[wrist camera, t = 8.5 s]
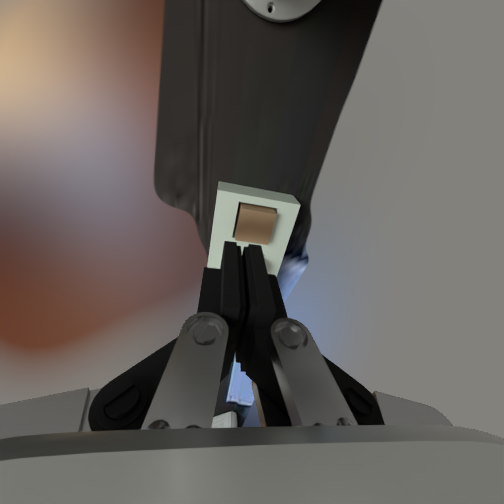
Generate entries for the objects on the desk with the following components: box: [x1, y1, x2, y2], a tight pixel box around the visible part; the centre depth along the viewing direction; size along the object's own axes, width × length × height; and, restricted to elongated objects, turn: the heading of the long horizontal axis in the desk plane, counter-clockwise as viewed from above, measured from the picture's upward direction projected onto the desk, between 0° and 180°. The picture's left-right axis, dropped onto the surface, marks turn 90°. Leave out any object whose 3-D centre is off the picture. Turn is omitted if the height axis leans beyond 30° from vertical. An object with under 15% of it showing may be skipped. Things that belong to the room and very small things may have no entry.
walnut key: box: [235, 202, 277, 245], centre depth 34 cm, size 5×5×4 cm
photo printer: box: [211, 411, 237, 428], centre depth 69 cm, size 10×4×12 cm, turn 118°
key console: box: [207, 181, 300, 277], centre depth 39 cm, size 24×12×4 cm, turn 168°
